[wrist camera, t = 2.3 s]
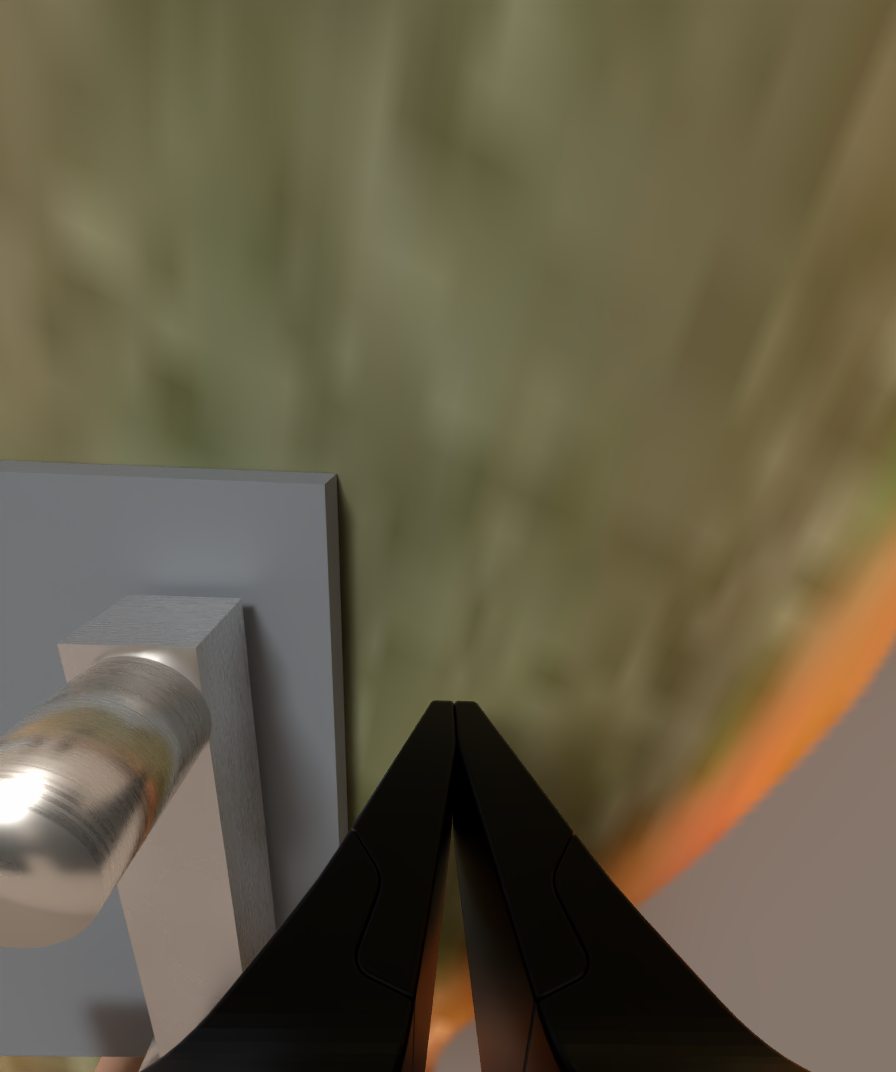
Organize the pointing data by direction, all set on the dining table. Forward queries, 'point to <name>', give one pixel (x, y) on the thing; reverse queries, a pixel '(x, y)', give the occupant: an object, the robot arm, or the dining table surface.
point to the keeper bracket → (119, 1064)
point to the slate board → (274, 668)
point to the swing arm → (144, 804)
